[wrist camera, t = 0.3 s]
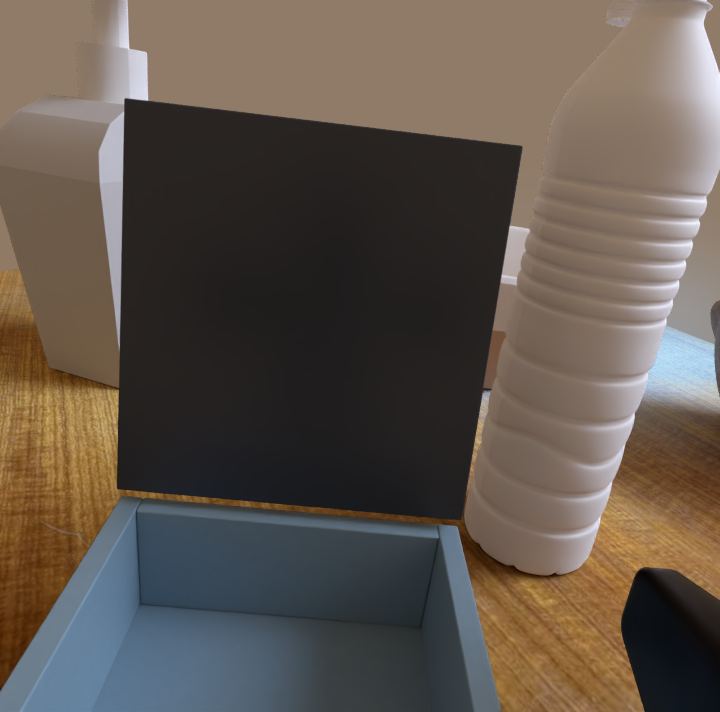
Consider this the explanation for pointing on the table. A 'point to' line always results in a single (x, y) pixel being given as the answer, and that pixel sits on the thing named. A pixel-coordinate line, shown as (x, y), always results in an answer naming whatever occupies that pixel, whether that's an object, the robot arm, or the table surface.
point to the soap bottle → (75, 200)
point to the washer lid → (306, 308)
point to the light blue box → (259, 617)
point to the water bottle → (596, 284)
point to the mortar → (716, 338)
